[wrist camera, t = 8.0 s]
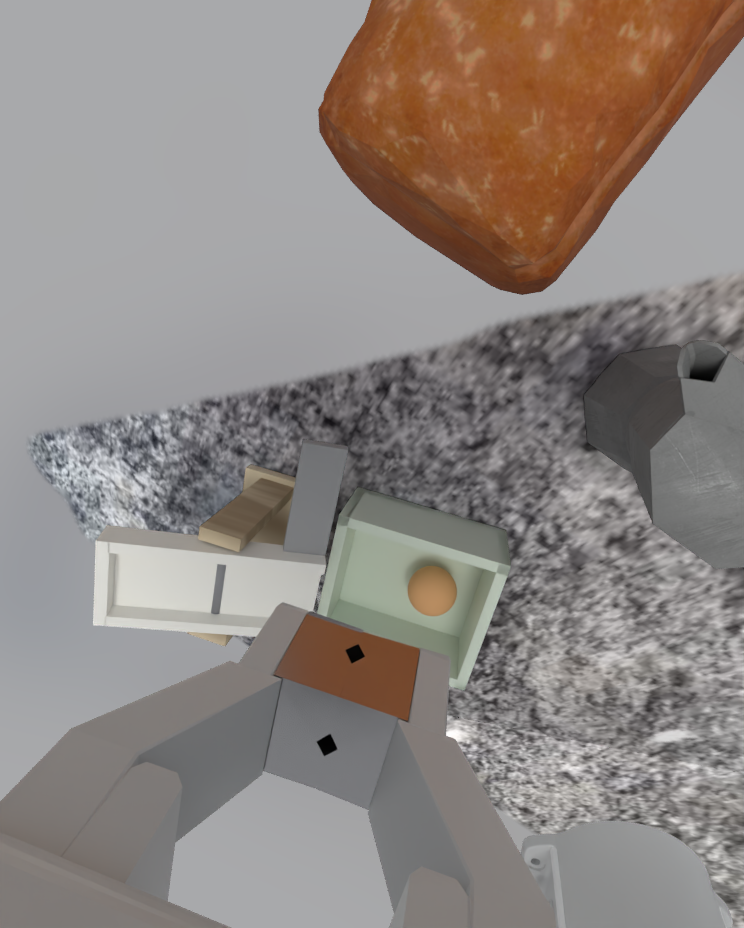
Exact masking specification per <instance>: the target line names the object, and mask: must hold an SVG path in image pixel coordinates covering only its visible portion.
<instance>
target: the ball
mask: <svg viewBox="0 0 744 928" xmlns="http://www.w3.org/2000/svg"><path fill="white" fill-rule="evenodd" d="M408 597H409V600H410V602H411V604H412V605H413V607H414V608H415V609H416V610H417V611H418V612H420V613H422V614H424V615H427V616H439V615H442V614H444V613H446V612H447V611H449V610H450V609H451V608H452V606H453V605H454V603H455V600H456V597H457V587H456V583H455V581H454V579H453V577H452V576H451V575H450V574H449V573H448V572H447V571H446V570H444V569H443V568H440V567H437V566H426V567H423V568H420V569H419V570H417V571H416V572H415V573H414V574H413V575H412V577H411V579H410V581H409V584H408Z"/></svg>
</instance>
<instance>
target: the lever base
mask: <svg viewBox="0 0 744 928" xmlns="http://www.w3.org/2000/svg"><path fill="white" fill-rule="evenodd" d="M295 479H296V477H292V476H289V475H286V474H282V473H279V472H276V471H272V470H269V469H265V468H262V467H259V466H255V465H252V464H251V465H249V466H248V467H246V471H245V477H244V484H243V491H242V493H241V494H240V495H239V496H238V497H236V498H235V499H234V500H232V501H231V502H230V503H229V504H227V505H226V506H225V507H224V508H222V509H221V510H220V511H218V512H217V513H216V514H215V515H213V516H212V517H211V518H210V519H208V520H207V521H206V522H205V523H203V524H202V525H201V526H200V527H199V536H198V539H199V540H202V541H205V542H208V543H211V544H215V545H218V546H221V547H224V548H227V549H230V550H233V551H236V552H240V551H241V550H242V549H243V548H244V547H245V546H246V545H247V544H248V543H249V542H250V541H251V542H260V543H269V544H277V545H283V544H284V539H285V534H286V528H287V523H288V517H289V512H290V506H291V501H292V496H293V490H294V485H295ZM187 633H188V634H190V635H193V636H196V637H199V638H202V639H205V640H208V641H211V642H214V643H217V644H219V645H222V646H226V645H227V643H228V642H229V640H230V639H231V638H232V636H233V635H225V634H211V633H197V632H187Z"/></svg>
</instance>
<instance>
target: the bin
mask: <svg viewBox="0 0 744 928" xmlns="http://www.w3.org/2000/svg"><path fill="white" fill-rule="evenodd" d="M426 566H437V567H440V568H443V569H444V570H446V571H447V572H448V573H449V574H450V575H451V576H452V577H453V579H454V581H455V583H456V587H457V597H456V600H455V603H454V605H453V606H452V608H451V609H450V610H449V611H447V612H446V613H444V614H442V615H439V616H427V615H424V614H422V613H420V612H418V611H417V610H416V609H415V608H414V607H413V605H412V604H411V602H410V600H409V597H408V584H409V581H410V579H411V577H412V575H413V574H414V573H415V572H416V571H417V570H419V569H420V568H423V567H426ZM510 568H511V562H510V555H509V547H508V540H507V532H506V530H503V529H500V528H497V527H493V526H490V525H486V524H483V523H479V522H476V521H473V520H469V519H466V518H462V517H459V516H456V515H452V514H449V513H445V512H442V511H439V510H435V509H432V508H428V507H425V506H421V505H418V504H415V503H411V502H408V501H404V500H401V499H398V498H394V497H391V496H387V495H384V494H381V493H377V492H374V491H370V490H367V489H364V488H360V487H357V489H356V490H355V492H354V493H353V495H352V496H351V498H350V499H349V501H348V502H347V504H346V505H345V507H344V508H343V510H342V511H341V513H340V514H339V518H338V522H337V527H336V531H335V536H334V540H333V544H332V549H331V553H330V558H329V562H328V567H327V571H326V576H325V580H324V585H323V589H322V594H321V598H320V602H319V607H318V611H317V614H320V615H323V616H326V617H329V618H331V619H334V620H337V621H340V622H343V623H346V624H348V625H351V626H354V627H357V628H360V629H363V630H364V631H368V632H371V633H374V634H377V635H380V636H383V637H386V638H389V639H392V640H395V641H399V642H402V643H405V644H408V645H411V646H414V647H417V648H419V649H420V648H424V649H427V650H430V651H434V652H437V653H440V654H444V655H447V656H449V658H450V660H451V664H450V680H449V686H451V687H454V688H457V689H460V690H463V691H464V690H465V688H466V685H467V682H468V680H469V677H470V674H471V672H472V669H473V666H474V664H475V661H476V658H477V656H478V653H479V651H480V648H481V645H482V643H483V640H484V637H485V635H486V632H487V629H488V627H489V624H490V621H491V619H492V616H493V613H494V611H495V608H496V605H497V603H498V600H499V597H500V595H501V592H502V589H503V587H504V584H505V581H506V579H507V576H508V573H509V571H510Z"/></svg>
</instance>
